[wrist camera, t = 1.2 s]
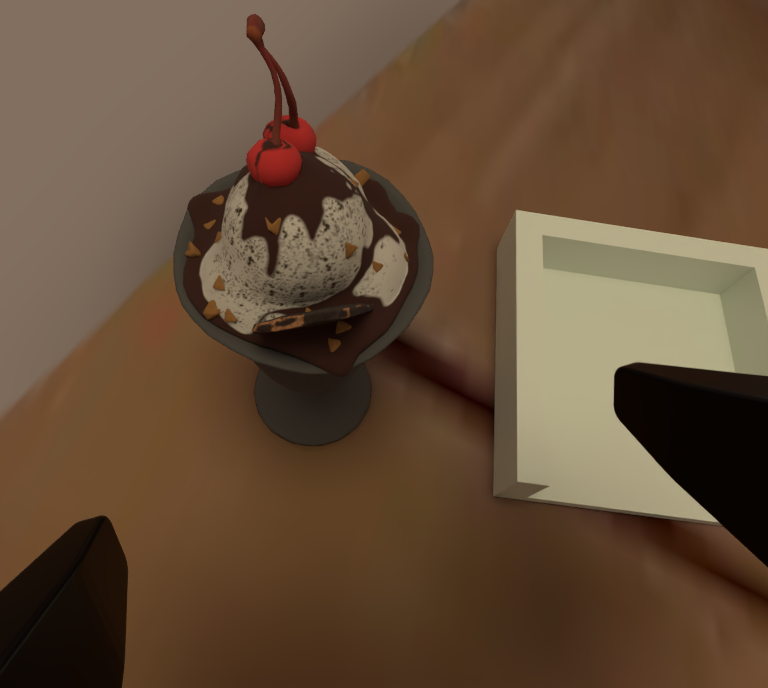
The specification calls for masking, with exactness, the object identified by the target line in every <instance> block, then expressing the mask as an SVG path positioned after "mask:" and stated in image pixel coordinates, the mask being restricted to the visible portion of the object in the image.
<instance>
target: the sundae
mask: <svg viewBox="0 0 768 688" xmlns="http://www.w3.org/2000/svg"><path fill="white" fill-rule="evenodd" d="M264 31H265V24H264V23H263V21H262V19H261V18H260V17H259V16H258V15H256V14H253V15H250V16H249V17H248V18H247V37H248V38H249V39H250V40H251V41H252V42H253V43H254V45H255V46H256V47H257V49H258V50H259V51H260V53H261V55H262V56H263V58H264V60H265V62H266V63H267V65H268V67H269V69H270V71H271V75H272V79H273V83H274V92H275V110H274V120H273V121H271V122H269V123H268V124H267V125H266V127H265V129H264V132H263V139H262V140H259V141H258V142H257V143H256V144H255V145H254V146H253V147H252V148H251V150H250V151H249V152H248V153H247V159H246V162H247V164H246V165H245V166H244V167H243V168H242V169H241V170H240V171H236V172H234V173H232V174H230V175H227V176H225V177H223V178H221V179H219V180H216V181H215V182H214V183H213V184H212V185H211V186H210V187H208V188H207V189H206V190H205V191H204V192H203V193H201V194H199V195H197V196H195V197H193V198H192V199H191V200H190V202H189V204H188V208H187V212H186V214H185V217H184V220H183V222H182V225H181V227H180V230H179V233H178V236H177V241H176V245H175V250H174V279H175V285H176V291H177V293H178V296H179V299H180V301H181V304H182V306H183V308H184V309H185V310H186V312H187V313H188V314H189V316H190V317H191V318H192V319H193V321H194V322H195V323H196V324H197V325H198V326H199V327H200V328H201V329H202V330H203V331H204V332H205V333H206V334H207V335H208V336H210V337H211V338H213V339H214V340H216V341H218V342H219V343H221V344H223V345H224V346H226V347H227V348H229V349H231V350H233V351H235V352H237V353H239V354H241V355H243V356H245V357H247V358H249V359H251V360H253V361H254V362H255V364H256V365H257V366H258V367H259V368H260V370H259V372H258V376H257V379H256V384H255V390H254V394H255V401H256V406H257V409H258V413H259V415H260V416H261V418H262V419H263V421H264V422H265V424H266V425H267V426H268V427H269V428H270V430H271V431H272V432H274V433H275V434H277V435H278V436H280V437H281V438H283V439H285V440H287V441H289V442H291V443H295V444H300V445H308V446H318V445H323V444H328V443H331V442H334V441H337V440H340V439H341V438H343V437H344V436H346V435H347V434H349V433H350V432H351V431H352V430H353V429H355V428H356V427H357V426H358V425H359V423H360V422H361V420H362V419H363V417H364V415H365V413H366V411H367V409H368V407H369V403H370V398H371V383H370V378H369V375H368V372H367V370H366V367H365V365H364V364H363V363H364V362H366V361H368V360H370V359H371V358H373V357H374V356H375V355H377V354H378V353H379V352H381V351H382V350H383V349H384V348H386V347H387V346H388V345H389V344H391V343H392V342H393V341H394V340H395V339H396V338H397V337H398V336H399V335H400V334H401V333H402V332H403V331H404V330H406V329H407V328H408V326H409V325H410V323H411V322H412V320H413V319H414V317H415V316H416V314H417V313H418V311H419V310H420V308H421V306H422V304H423V302H424V300H425V299H426V297H427V295H428V293H429V291H430V287H431V281H432V275H433V253H432V250H431V246H430V242H429V240H428V237H427V235H426V232H425V230H424V227H423V225H422V223H421V221H420V220H419V218H418V216H417V214H416V212H415V210H414V209H413V208H412V206H411V205H410V204H409V202H408V201H407V200H406V198H405V197H404V196H403V195H402V194H401V193H400V192H399V191H398V190H397V189H396V188H395V187H394V186H393V185H392V184H391V183H390V182H389V181H388V180H387V179H385V178H384V177H382V176H380V175H379V174H377V173H375V172H373V171H372V170H370V169H368V168H366V167H363V166H360V165H358V164H355V163H353V162H350V161H345V160H338V159H337V158H335V157H334V156H332V155H331V154H330V153H328V152H326V151H325V150H323V149H321V148H318V147H315V146H316V135H315V133H314V131H313V129H312V127H311V126H310V125H309V124H308V123H307V122H306V121H305V120H303V119H302V118H299V117H298V113H297V106H296V101H295V98H294V95H293V93H292V90H291V87H290V85H289V82H288V80H287V78H286V76H285V74H284V72H283V71H282V69H281V68H280V66H279V65H278V63H277V62H276V60H275V59H274V58H273V56H272V55H271V54H270V53H269V52H268V51H267V50H266V48H265V47H264V43H263V40H262V36H263V34H264ZM276 71H277V72H276ZM277 73H278V76H279V78H280V81H281V83H282V86H283V88H284V92H285V95H286V99H287V103H288V106H289V115H285V116H282V95H281V88H280V83H279V80H278V76H277Z"/></svg>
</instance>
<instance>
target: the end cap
mask: <svg viewBox="0 0 768 688" xmlns="http://www.w3.org/2000/svg"><path fill="white" fill-rule="evenodd" d="M635 362H643V363H652V364H661V365H670V366H680V367H689V368H698V369H707V370H716V371H725V372H735V373H744V374H753V375H762V376H768V249H764V248H757V247H751V246H744V245H738V244H731V243H725V242H719V241H712V240H706V239H699V238H693V237H686V236H680V235H673V234H667V233H661V232H654V231H648V230H641V229H635V228H628V227H622V226H615V225H609V224H603V223H596V222H590V221H583V220H577V219H570V218H564V217H557V216H551V215H545V214H538V213H532V212H525V211H519V210H516V211H515V213H514V215H513V217H512V219H511V221H510V223H509V225H508V227H507V229H506V231H505V233H504V235H503V238H502V240H501V242H500V244H499V246H498V248H497V276H496V343H495V410H494V476H493V496H495V497H503V498H510V499H518V500H526V501H533V502H541V503H549V504H556V505H564V506H572V507H579V508H587V509H595V510H603V511H610V512H618V513H626V514H633V515H641V516H649V517H656V518H664V519H672V520H679V521H687V522H695V523H703V524H710V525H718V526H722V525H721V524H720V523H719V522H718V521H717V520H716V519H715V518H714V517H713V516H712V515H711V514H709V513H708V512H707V511H706V510H705V509H704V508H703V507H702V506H701V505H700V504H699V503H698V502H696V501H695V500H694V499H693V498H692V497H691V496H690V495H689V494H688V493H687V492H686V491H685V490H683V489H682V488H681V487H680V486H679V485H678V484H677V483H676V482H675V481H674V480H673V479H672V478H671V477H670V476H669V475H668V474H667V473H666V472H665V471H664V470H663V469H662V467H661V466H660V465H659V464H658V463H657V462H656V461H655V460H654V459H653V457H652V456H651V455H650V454H649V453H648V452H647V451H646V450H645V449H644V447H643V446H642V445H641V444H640V443H639V442H638V441H637V440H636V438H635V437H634V436H633V435H632V434H631V433H630V432H629V431H628V430H627V428H626V427H625V426H624V425H623V424H622V423H621V422H620V421H619V419H618V418H617V416H616V414H615V412H614V406H613V402H614V374H615V371H616V370H617V369H618V368H619V367H621V366H624V365H627V364H631V363H635Z"/></svg>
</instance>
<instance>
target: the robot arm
mask: <svg viewBox="0 0 768 688" xmlns="http://www.w3.org/2000/svg"><path fill="white" fill-rule="evenodd" d="M613 406H614V412H615V414H616V416H617V418H618V419H619V421H620V422H621V423H622V424H623V425H624V426H625V427H626V428H627V430H628V431H629V432H630V433H631V434H632V435H633V436H634V437H635V438H636V440H637V441H638V442H639V443H640V444H641V445H642V446H643V447H644V449H645V450H646V451H647V452H648V453H649V454H650V455H651V456H652V457H653V459H654V460H655V461H656V462H657V463H658V464H659V465H660V466H661V467H662V469H663V470H664V471H665V472H666V473H667V474H668V475H669V476H670V477H671V478H672V479H673V480H674V481H675V482H676V483H677V484H678V485H679V486H680V487H681V488H682V489H683V490H685V491H686V492H687V493H688V494H689V495H690V496H691V497H692V498H693V499H694V500H695V501H696V502H698V503H699V504H700V505H701V506H702V507H703V508H704V509H705V510H706V511H707V512H708V513H709V514H711V515H712V516H713V517H714V518H715V519H716V520H717V521H718V522H719V523H720V524H721V525H722V526H724V527H725V528H726V529H727V530H728V531H729V532H730V533H731V534H732V535H733V536H734V537H735V538H737V539H738V540H739V541H740V542H741V543H742V544H743V545H744V546H745V547H746V548H747V549H748V550H750V551H751V552H752V553H753V554H754V555H755V556H756V557H757V558H758V559H759V560H760V561H761V562H763V563H764V564H765V565H766V566H767V567H768V376H762V375H753V374H744V373H735V372H725V371H716V370H707V369H698V368H689V367H680V366H670V365H661V364H652V363H643V362H635V363H631V364H627V365H624V366H621V367H619V368H618V369H617V370H616V371H615V374H614V402H613ZM127 586H128V566H127V561H126V557H125V554H124V552H123V550H122V547H121V545H120V542H119V540H118V538H117V535H116V533H115V530H114V528H113V525H112V523H111V521H110V520H109V519H108V517H106V516H103V515H102V516H97V517H94V518H90V519H87V520H83V521H80V522H77V523H75V524H74V525H73V526H72V527H71V528H70V529H68V530H67V531H66V532H65V533H64V534H63V535H62V536H61V537H60V538H58V539H57V540H56V541H55V542H54V543H53V544H52V545H51V546H50V547H49V548H47V549H46V550H45V551H44V552H43V553H42V554H41V555H40V556H39V557H38V558H36V559H35V560H34V561H33V562H32V563H31V564H30V565H29V566H28V567H26V568H25V569H24V570H23V571H22V572H21V573H20V574H19V575H18V576H17V577H15V578H14V579H13V580H12V581H11V582H10V583H9V584H8V585H7V586H6V587H4V588H3V589H2V590H1V591H0V688H122V681H123V673H124V662H125V642H126V614H127Z"/></svg>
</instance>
